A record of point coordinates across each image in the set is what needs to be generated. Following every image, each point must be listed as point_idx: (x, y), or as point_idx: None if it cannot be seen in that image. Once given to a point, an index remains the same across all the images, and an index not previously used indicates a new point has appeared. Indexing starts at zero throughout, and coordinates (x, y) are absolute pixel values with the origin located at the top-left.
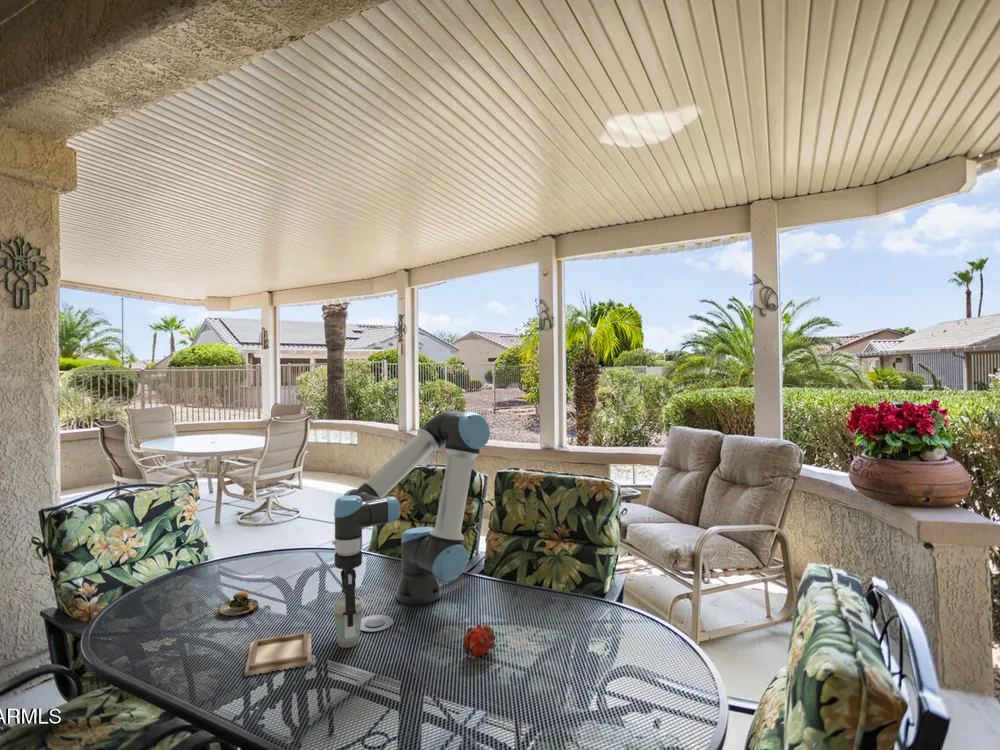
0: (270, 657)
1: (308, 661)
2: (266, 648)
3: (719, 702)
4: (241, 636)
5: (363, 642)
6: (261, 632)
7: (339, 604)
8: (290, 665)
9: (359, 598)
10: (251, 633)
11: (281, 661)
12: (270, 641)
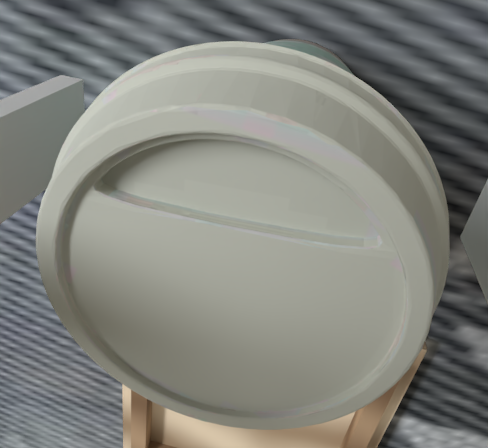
0: (278, 440)
1: (419, 359)
2: (193, 430)
3: None
4: (45, 436)
5: (343, 11)
6: (28, 391)
7: (265, 395)
8: (394, 411)
9: (187, 130)
10: (29, 413)
11: (365, 444)
12: (149, 417)
